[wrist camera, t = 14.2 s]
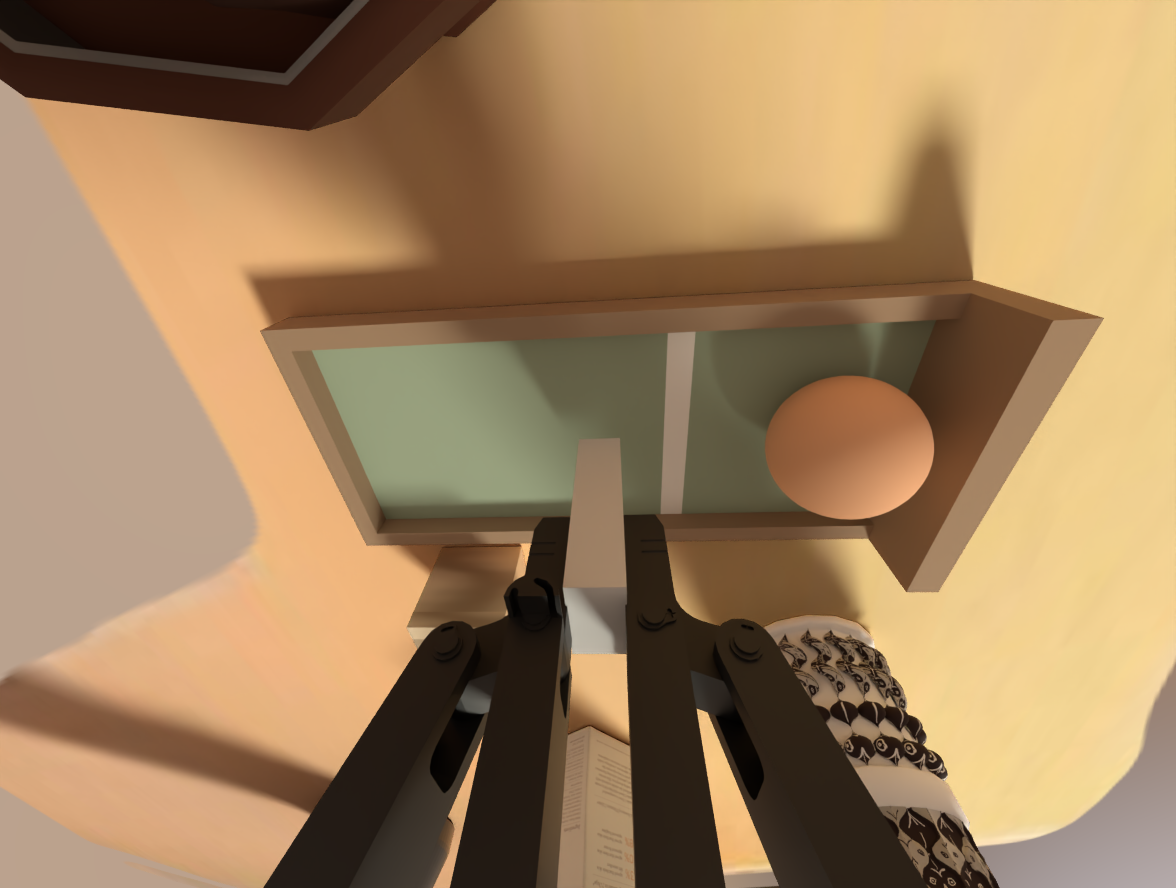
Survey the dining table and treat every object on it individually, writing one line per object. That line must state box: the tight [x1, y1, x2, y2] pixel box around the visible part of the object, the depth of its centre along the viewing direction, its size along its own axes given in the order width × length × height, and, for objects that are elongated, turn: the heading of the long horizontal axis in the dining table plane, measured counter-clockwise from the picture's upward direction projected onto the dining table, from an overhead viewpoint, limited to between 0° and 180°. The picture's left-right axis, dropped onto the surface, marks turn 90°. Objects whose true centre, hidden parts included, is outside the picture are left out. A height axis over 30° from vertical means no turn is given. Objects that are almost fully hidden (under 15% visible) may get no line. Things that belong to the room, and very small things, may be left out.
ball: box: [765, 376, 934, 520], centre depth 15 cm, size 5×5×5 cm
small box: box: [557, 726, 635, 888], centre depth 31 cm, size 8×6×13 cm
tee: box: [407, 546, 526, 649], centre depth 22 cm, size 4×4×5 cm
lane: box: [260, 280, 1104, 592], centre depth 16 cm, size 25×11×4 cm, turn 94°
